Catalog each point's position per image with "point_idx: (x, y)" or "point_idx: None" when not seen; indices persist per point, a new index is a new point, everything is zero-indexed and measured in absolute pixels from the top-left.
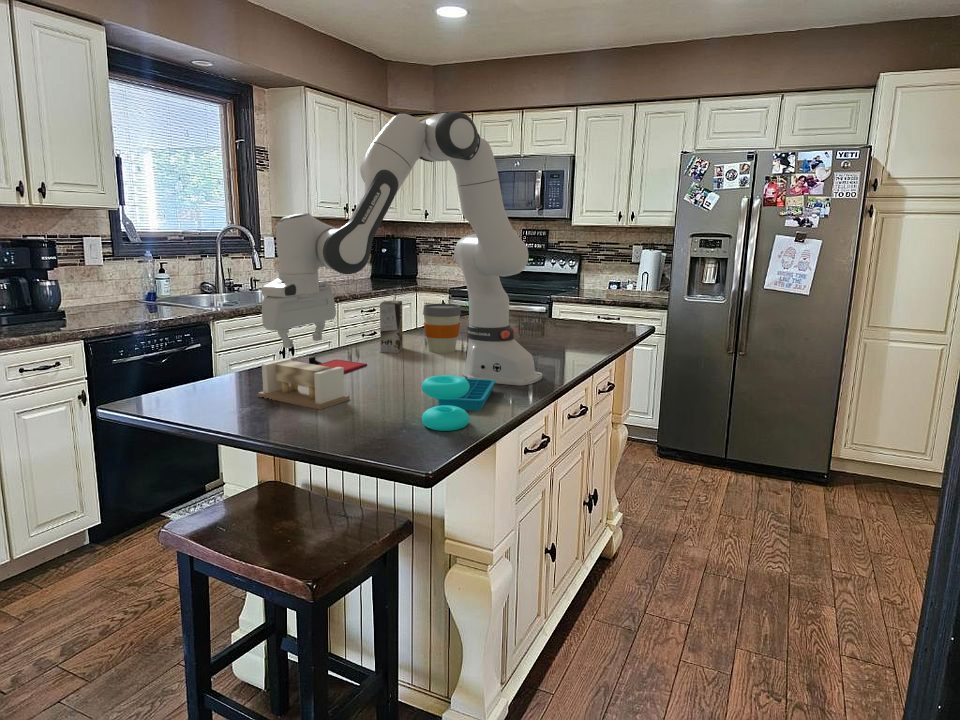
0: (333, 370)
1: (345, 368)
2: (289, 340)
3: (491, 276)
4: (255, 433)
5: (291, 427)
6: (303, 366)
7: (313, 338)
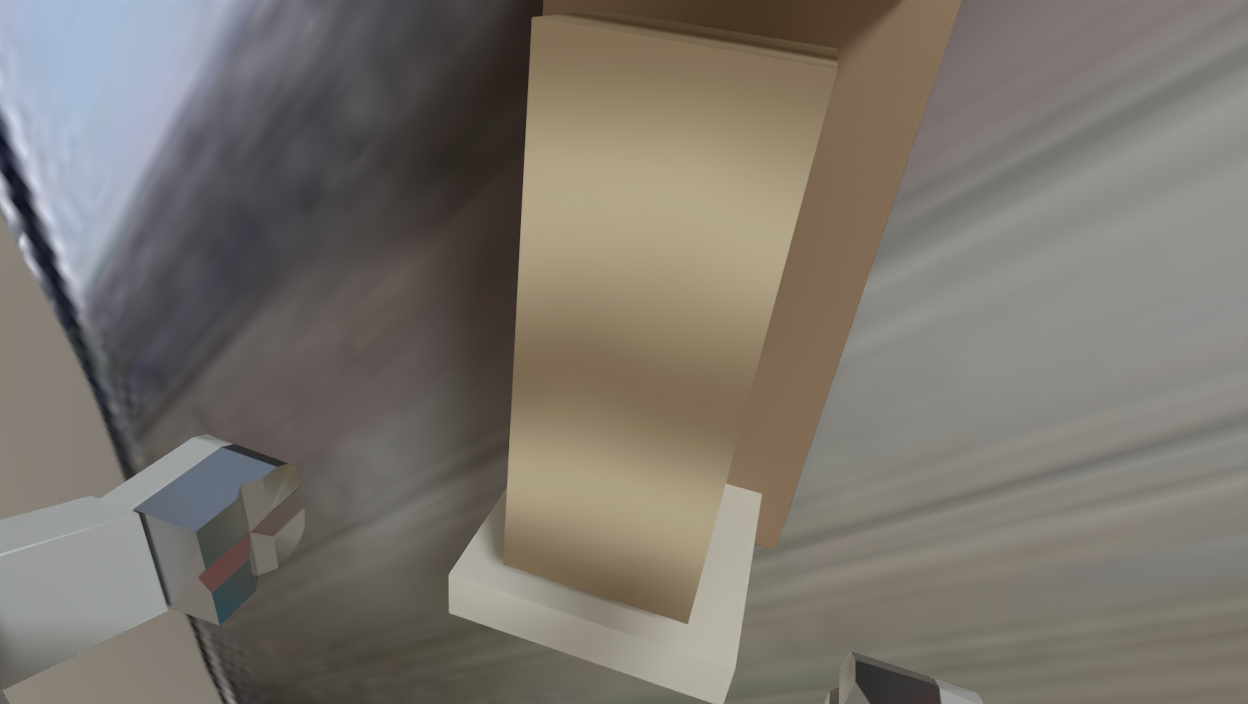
0: (600, 663)
1: None
2: (159, 601)
3: None
4: (132, 358)
5: (267, 451)
6: (599, 403)
7: (844, 688)
